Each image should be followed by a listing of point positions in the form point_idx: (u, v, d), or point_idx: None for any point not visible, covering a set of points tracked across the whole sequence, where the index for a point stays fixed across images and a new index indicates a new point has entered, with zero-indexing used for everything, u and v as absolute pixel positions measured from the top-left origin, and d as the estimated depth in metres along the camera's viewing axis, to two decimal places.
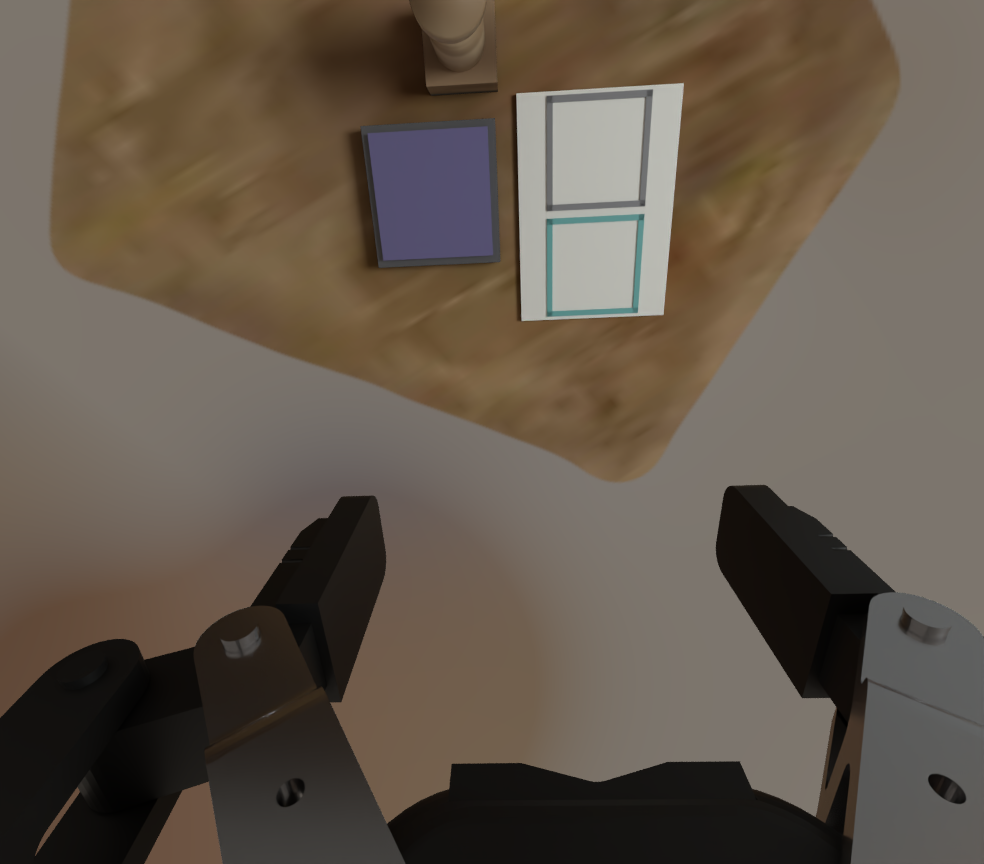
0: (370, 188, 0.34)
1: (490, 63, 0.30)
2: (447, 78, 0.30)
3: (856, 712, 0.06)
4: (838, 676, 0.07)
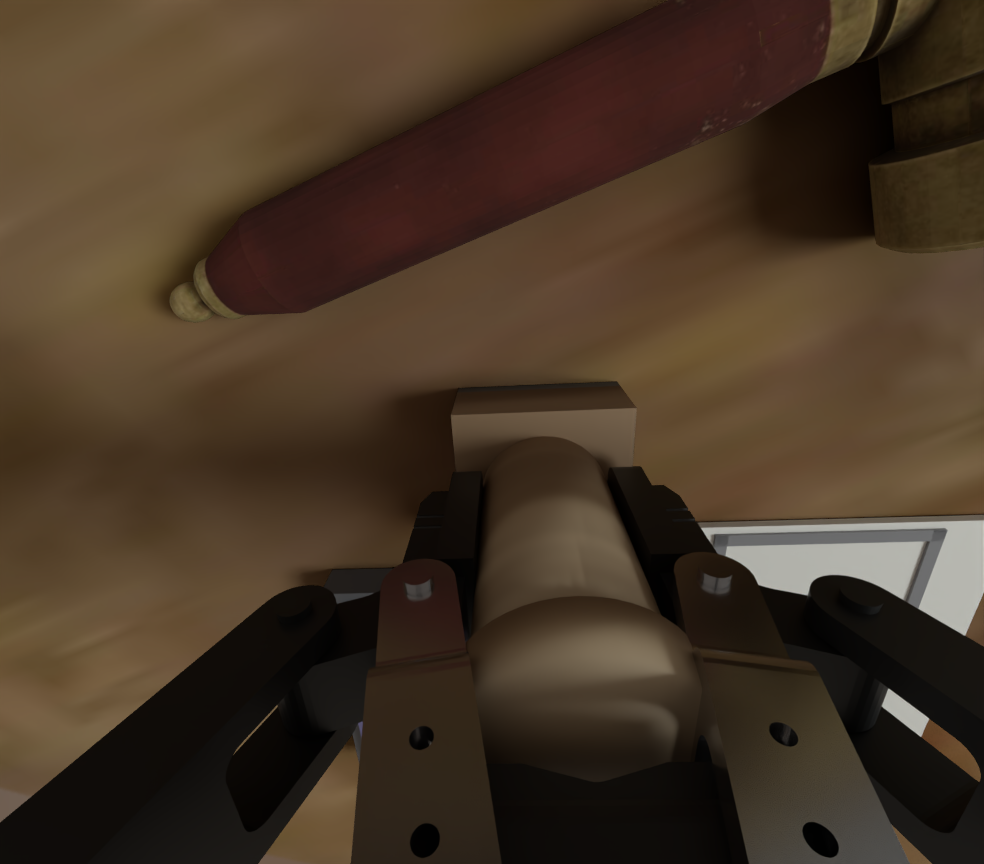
0: None
1: None
2: None
3: None
4: None
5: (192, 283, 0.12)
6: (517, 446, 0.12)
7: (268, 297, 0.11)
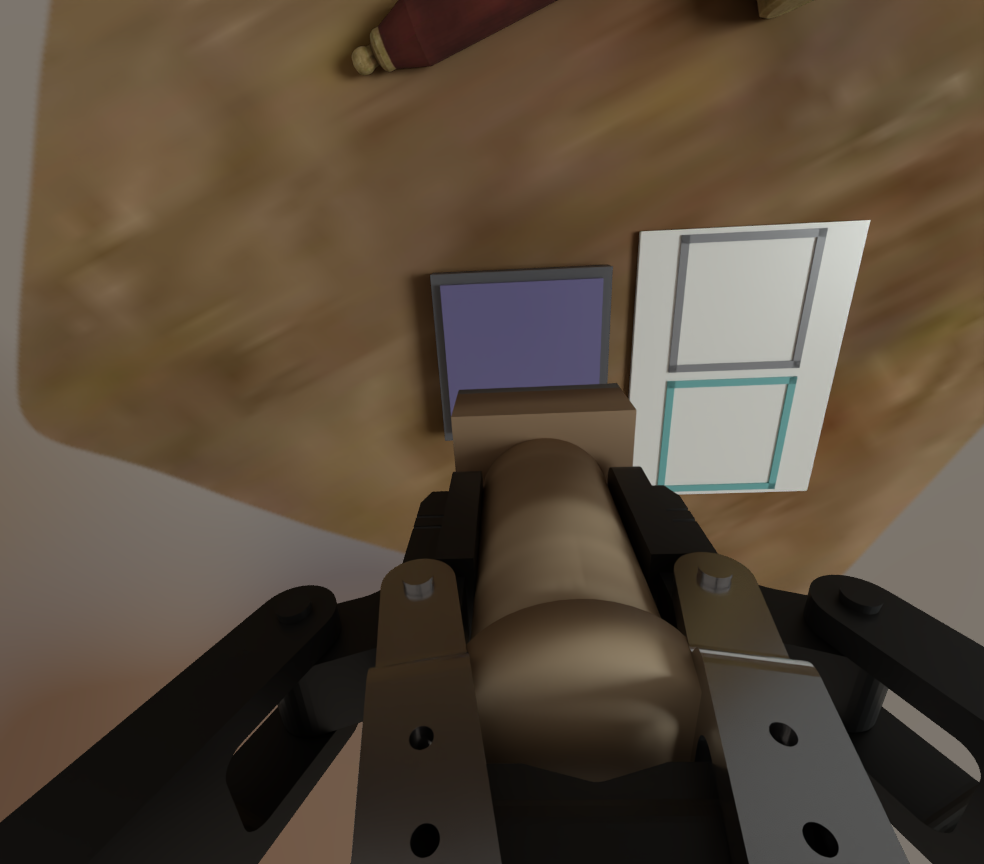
0: (439, 349, 0.25)
1: None
2: None
3: None
4: None
5: (365, 46, 0.21)
6: (517, 448, 0.12)
7: (416, 43, 0.20)
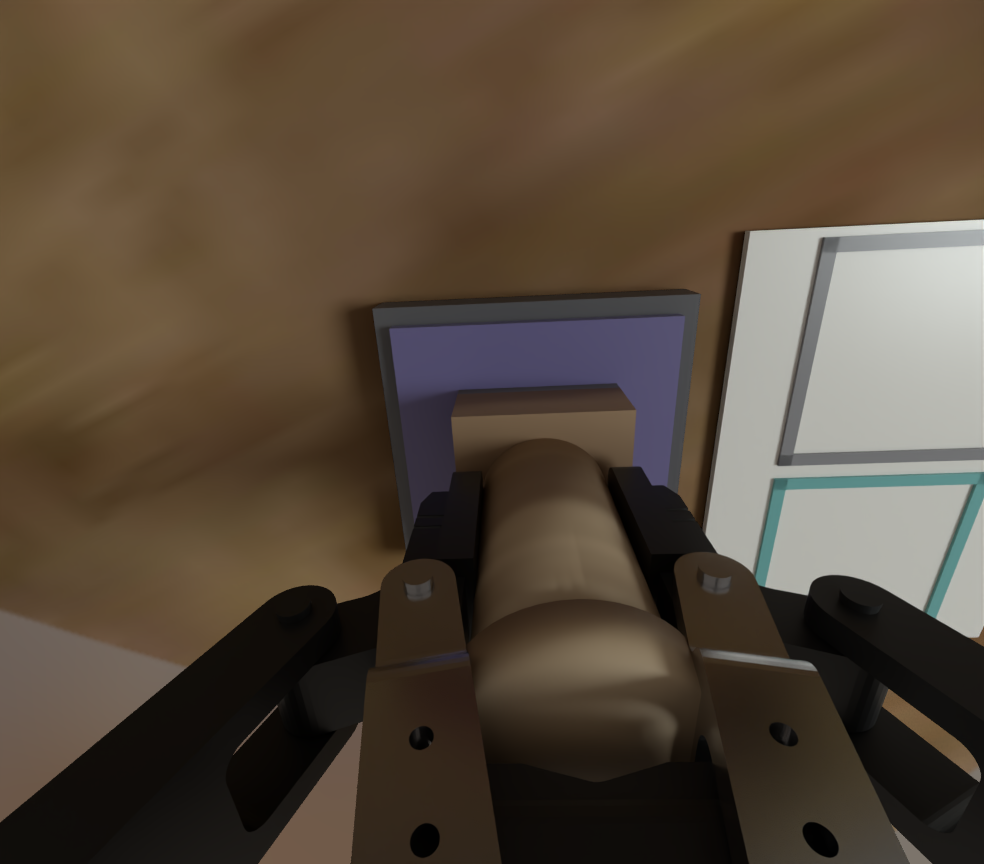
0: (393, 432, 0.15)
1: None
2: None
3: None
4: None
5: None
6: (517, 448, 0.12)
7: None
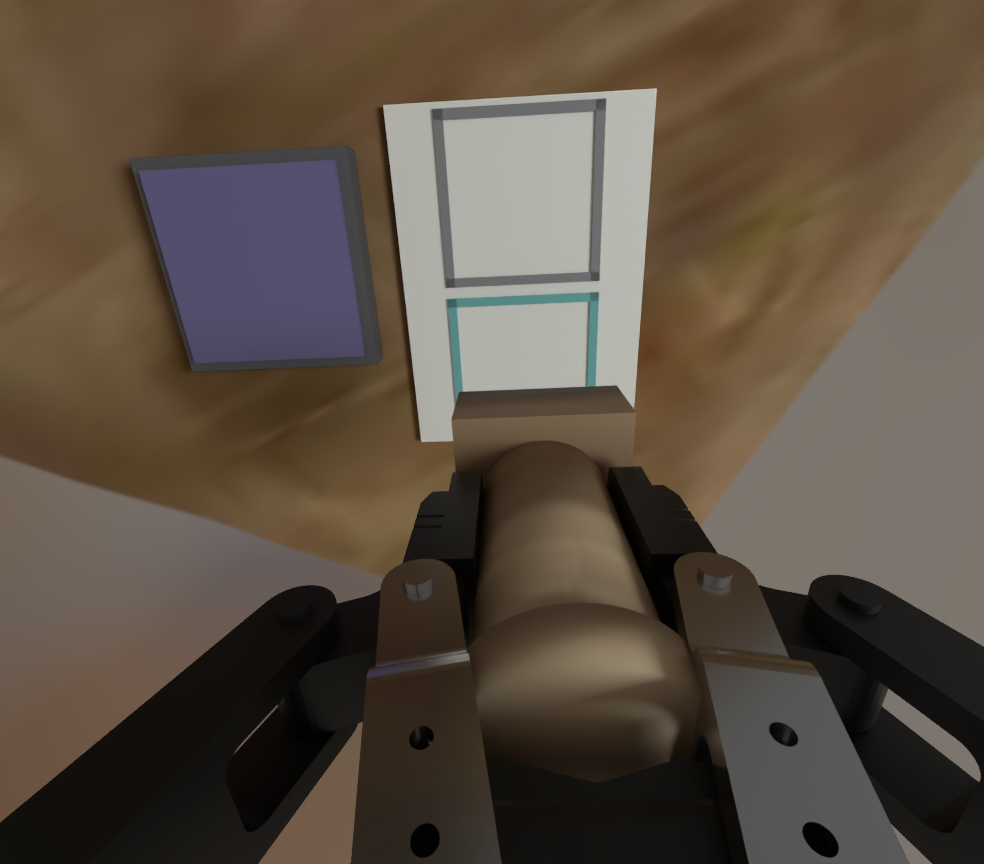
0: (160, 255, 0.21)
1: None
2: None
3: None
4: None
5: None
6: (517, 450, 0.12)
7: None
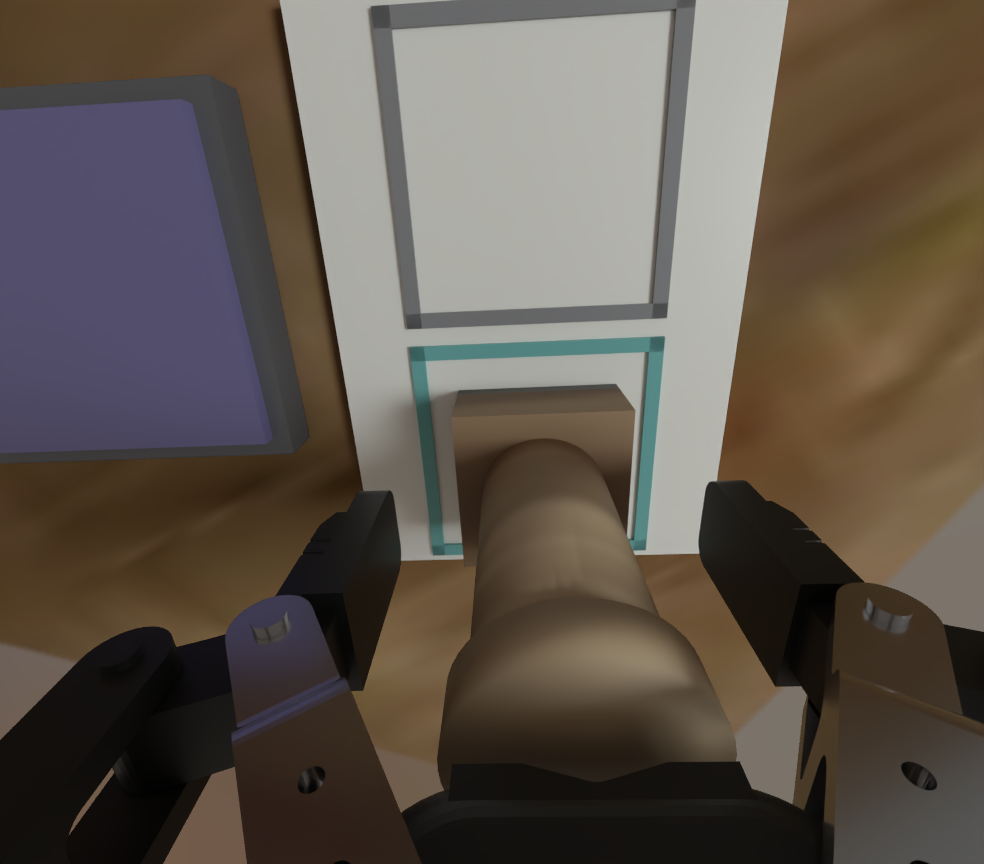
0: None
1: None
2: None
3: (829, 703, 0.06)
4: (808, 664, 0.08)
5: None
6: (517, 448, 0.12)
7: None
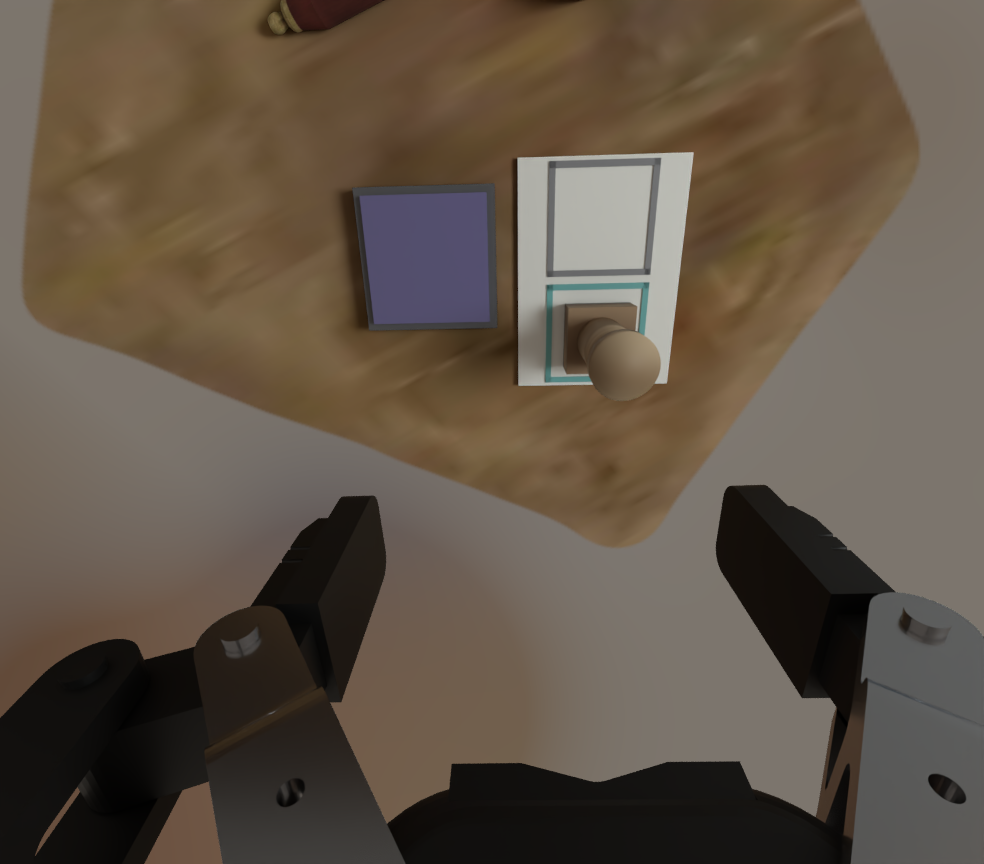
0: (361, 250, 0.32)
1: None
2: (586, 368, 0.33)
3: (856, 712, 0.06)
4: (838, 676, 0.07)
5: (278, 12, 0.28)
6: (593, 320, 0.32)
7: (313, 10, 0.27)
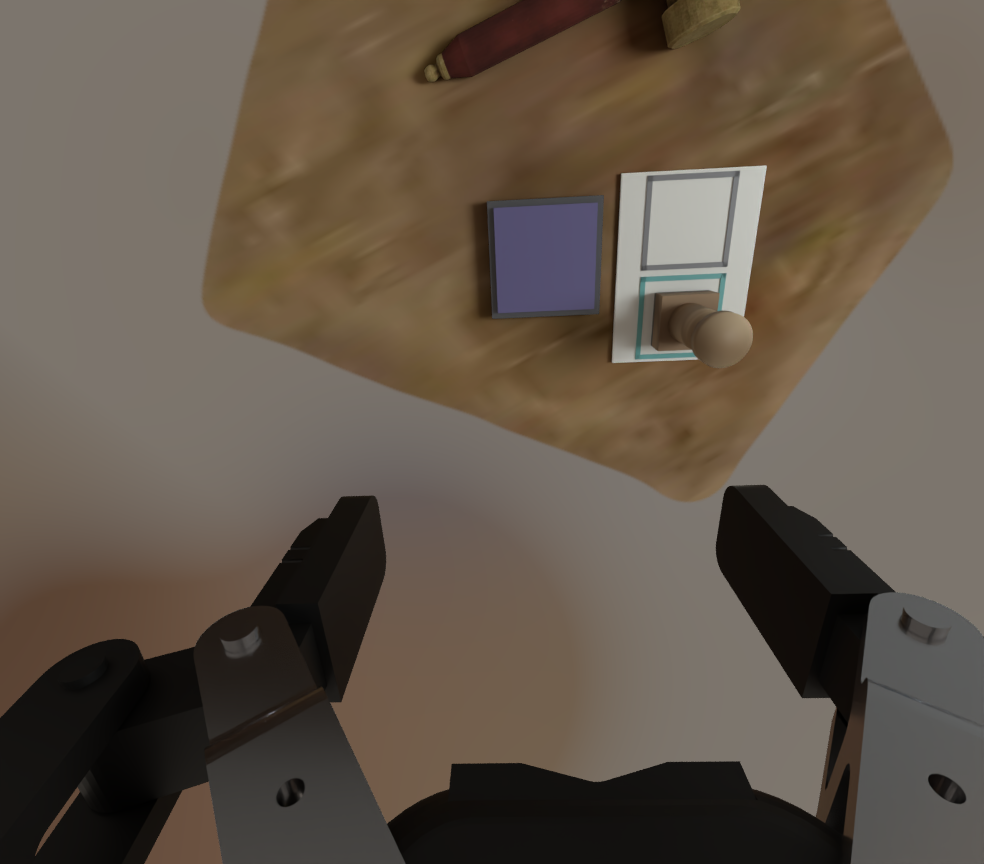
0: (490, 252, 0.39)
1: None
2: (675, 346, 0.40)
3: (856, 712, 0.06)
4: (838, 677, 0.07)
5: None
6: (682, 305, 0.39)
7: (465, 63, 0.34)
